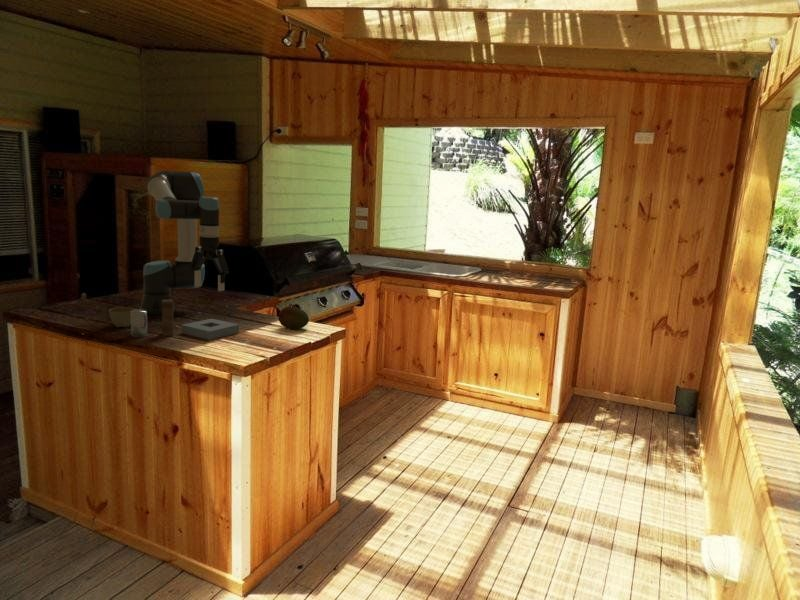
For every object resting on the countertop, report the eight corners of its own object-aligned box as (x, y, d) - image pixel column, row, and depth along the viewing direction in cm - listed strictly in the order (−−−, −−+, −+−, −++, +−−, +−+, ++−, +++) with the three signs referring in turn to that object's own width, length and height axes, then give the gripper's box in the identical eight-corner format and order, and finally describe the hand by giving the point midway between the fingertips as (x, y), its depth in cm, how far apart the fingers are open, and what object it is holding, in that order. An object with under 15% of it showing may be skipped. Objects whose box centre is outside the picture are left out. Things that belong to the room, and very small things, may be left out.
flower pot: (141, 325, 255) (140, 308, 253) (123, 330, 245) (122, 313, 244) (122, 322, 258) (121, 306, 256) (103, 327, 248) (103, 310, 247)
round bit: (127, 335, 238) (127, 310, 236) (140, 332, 243) (140, 308, 241) (137, 338, 235) (137, 313, 233) (150, 335, 240) (150, 310, 238)
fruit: (274, 327, 265) (275, 304, 263) (300, 324, 273) (300, 302, 271) (286, 333, 256) (287, 310, 254) (312, 330, 264) (313, 307, 262)
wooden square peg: (163, 333, 244) (162, 299, 241) (173, 333, 245) (173, 299, 242) (162, 336, 240) (161, 301, 238) (173, 335, 241) (172, 301, 239)
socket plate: (181, 333, 246) (181, 324, 245) (211, 326, 260) (211, 318, 259) (209, 340, 238) (209, 331, 238) (238, 332, 252) (238, 324, 252)
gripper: (180, 233, 244) (181, 285, 248) (224, 239, 232) (224, 293, 236) (195, 233, 251) (195, 283, 255) (238, 238, 238) (238, 291, 242)
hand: (209, 288), depth 245 cm, fingers open, 13 cm apart
